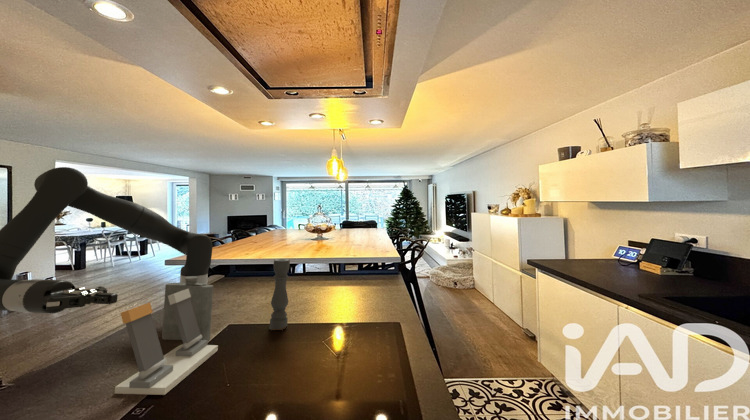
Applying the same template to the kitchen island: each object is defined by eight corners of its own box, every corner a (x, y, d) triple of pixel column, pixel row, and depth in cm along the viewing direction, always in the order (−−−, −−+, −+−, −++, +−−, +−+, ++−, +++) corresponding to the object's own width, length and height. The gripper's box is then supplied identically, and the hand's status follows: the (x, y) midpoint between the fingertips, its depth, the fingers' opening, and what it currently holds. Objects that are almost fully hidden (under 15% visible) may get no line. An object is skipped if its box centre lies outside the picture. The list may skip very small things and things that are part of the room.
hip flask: (159, 339, 91) (163, 276, 92) (169, 334, 95) (173, 274, 96) (205, 342, 90) (209, 279, 91) (213, 337, 94) (217, 277, 95)
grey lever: (183, 349, 78) (167, 295, 79) (197, 340, 85) (182, 290, 85) (189, 347, 78) (173, 293, 79) (203, 338, 85) (188, 288, 85)
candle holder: (268, 331, 101) (272, 261, 102) (270, 325, 107) (273, 258, 108) (286, 330, 102) (290, 261, 104) (287, 324, 108) (290, 258, 109)
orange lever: (139, 379, 63) (120, 312, 64) (160, 365, 70) (142, 304, 70) (147, 377, 63) (128, 310, 64) (167, 363, 70) (150, 302, 70)
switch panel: (113, 394, 63) (114, 381, 63) (181, 348, 85) (182, 339, 85) (163, 395, 63) (164, 382, 63) (218, 350, 85) (218, 340, 85)
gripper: (6, 285, 60) (88, 288, 61) (71, 275, 74) (138, 277, 74) (2, 321, 60) (85, 324, 60) (68, 304, 73) (136, 306, 73)
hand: (114, 298), depth 67 cm, fingers closed
